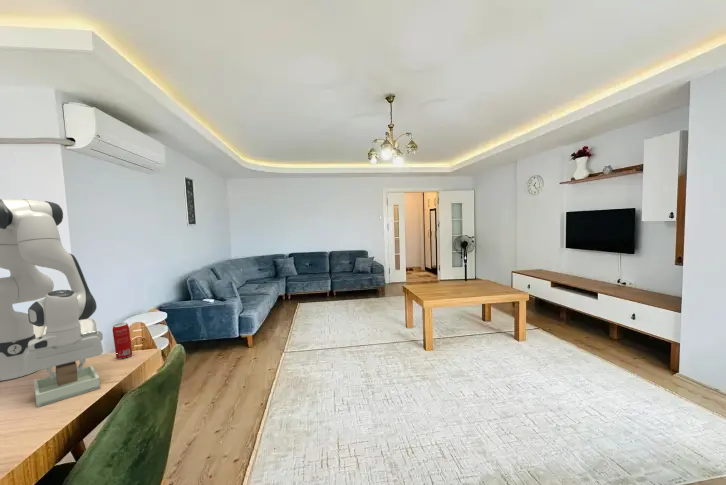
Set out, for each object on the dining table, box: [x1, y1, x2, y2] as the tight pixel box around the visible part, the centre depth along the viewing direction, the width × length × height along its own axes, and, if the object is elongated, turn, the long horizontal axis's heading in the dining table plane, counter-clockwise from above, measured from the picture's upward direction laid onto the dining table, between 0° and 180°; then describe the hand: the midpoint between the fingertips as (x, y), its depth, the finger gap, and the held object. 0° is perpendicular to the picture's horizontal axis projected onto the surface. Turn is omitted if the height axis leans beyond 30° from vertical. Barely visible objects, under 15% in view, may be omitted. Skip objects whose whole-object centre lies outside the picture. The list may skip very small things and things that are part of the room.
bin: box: [33, 365, 101, 408], centre depth 111 cm, size 16×16×4 cm
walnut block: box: [55, 361, 78, 386], centre depth 111 cm, size 5×5×6 cm
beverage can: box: [112, 322, 133, 360], centre depth 140 cm, size 6×6×15 cm
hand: (66, 375), depth 111 cm, fingers closed on walnut block, 5 cm apart
